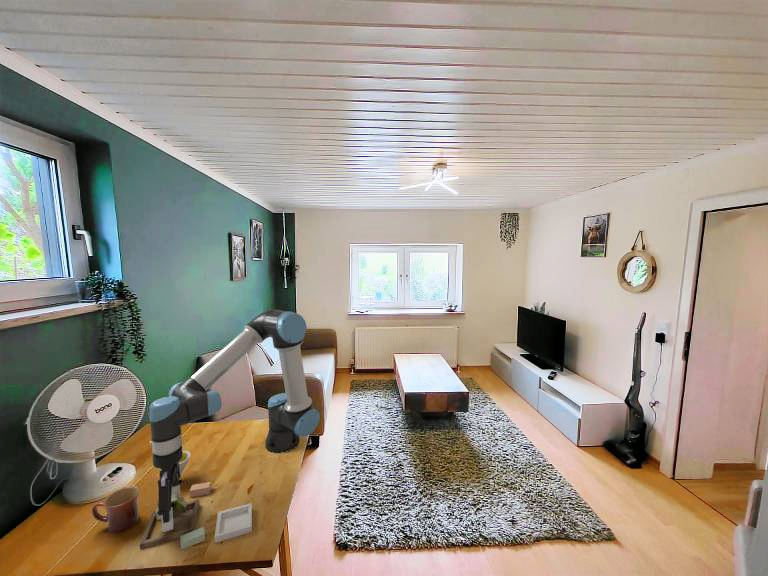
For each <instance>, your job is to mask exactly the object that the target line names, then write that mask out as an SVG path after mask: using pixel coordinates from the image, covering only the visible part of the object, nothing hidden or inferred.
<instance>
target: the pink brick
mask: <svg viewBox="0 0 768 576" xmlns="http://www.w3.org/2000/svg"><path fill="white" fill-rule="evenodd" d="M211 490H212V482H211V481H208V482H207V481H206V482H201V483H195V484H192V485H191V487H190V488H189V497H190V498H194V497H201V496H207V495H210V493H211Z"/></svg>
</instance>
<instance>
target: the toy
mask: <svg viewBox="0 0 768 576" xmlns="http://www.w3.org/2000/svg"><path fill="white" fill-rule="evenodd" d="M182 452H183V456H182V459H181V460H180V461H179V467H180V474H181V475H182V473H183V472H184V470H185V467H186V466H187V464H188V461H189V459H190V458H191V452H190V451H188V450H182Z"/></svg>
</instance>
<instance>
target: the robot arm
mask: <svg viewBox="0 0 768 576" xmlns="http://www.w3.org/2000/svg"><path fill="white" fill-rule="evenodd" d="M307 327H308V326H307V323H306V320H305V318H304V317H303V316H302V315H301V314H299V313H297V312H294V311H287V310H280V309H278V308H277V309H275V308H273V309H271V308H270V309H268V310H266V311H263V312H261V313H259V314H258V315H257V316H255V317H254V318H253V319H251V320H250V321H249V322H248V323H247V324H245V325H244V327H243V328H244V329H243V330H242V331H241V332H240V333H238V335H237V336H235V338H233V339H232V340H231V341H230V342H229V343H228V344H226V346H224V347H223V348H222V349H221V350H219V351H218V352H217V353H216V354H214V356H213V357H212V358H211V359H210V360H208V361H207V362H206V363H205V364H204V365H203V366H202V367H200V368H199V369H198V370H197V371H196V372H195V373H193V375H191V376H190V377H189V378H188V379H187V380H185V381H180V382H177V383H174V385H172V386H171V388H170V389H169V392H168V396H164V397H160V398H158V399H156V400H154V401H153V402H152V403H151V404H150V405H149V418H148V419H149V424H150V436H151V441H149V445H151V450H152V465H153V467H155V468H157V469H160V470H159V479H158V480H157V487H158V495H157V496H158V500H157V502H158V503H157V506H158V512H157V514H158V515H159V516H160V515H161V521H162V522H161V533H164V532H168V531H172V530H173V529H174V525H173V510H172V507H171V498H172V492H173V493H175V494H177V495H178V496H180V497H181V485H180V484H182V483H183V479H182V478H181V477H182V474H180V467H179V461H180V460H181V459H182V456H183V452H182V451H183V446H182V445H183V437H182V426H185V425H188V424H191V423H193V422H195V421H198V420H202V419H204V418H207V417H210V416H211V415H214V414H217V413H219V412H220V411H221V409H222V406H223V404H222V397H221V395H220V393H219V392H218V391H217V390H210V391H208V390H209V389H210V388H211V387H212V386H213V385H215V383H217V381H219V380H220V378H222V377H223V376H224V375H225V374H226V373H227V372H228V371H229V370H231V369H232V368H233V367H234V366H235V365H236V364H237V363H238V362H239V361H240V360H241V359H242V358H244V356H245V355H247V354H248V353H249V351H251V350H252V349H253V348H254V347H255V346H256V345H257V344H262V343H263V342H264V341H265V340H267V339H268V338H272V345H273V348H274V349H275V350H277V351H278V355H279V356H278V357H279V360H280V367H281V373H282V378H283V384H284V390H285V392H282V393H278V394H275V395H272V396H271V397H270V398H269V400H268V402H267V412H268V432H267V435H266V439H265V442H264V443H265V445H264V447H265V450H266V449H267V450H268V451H267V450H266V451H267V452H270V453H272V452H273V453H272V454H282V453H281V452H285V453H287V452H286V451H288V452H290V451H289V450H291V449H293V450H294V449H296V448H297V447H298V446H299V445H298V444H300V442H301V441H300V439H301V438H300V437H302V438H303V437H304V438H305V437H308V436H310V435H311V434H313V432H314V431H315V430H316V429H317V427H318V425H319V422H320V419H321V417H320V416H321V415H320V412H319V411H318V409H316V408H314V405H313V400H312V398H311V397H310V396H308V389H307V383H306V382H307V381H306V377H305V370H304V364H303V358H302V351H301V350H302V349H301V345H302V344H303V342H304V338H305V336H306V335H305V334H307ZM295 447H296V448H295ZM291 451H292V450H291Z"/></svg>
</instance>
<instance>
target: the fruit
mask: <svg viewBox="0 0 768 576" xmlns="http://www.w3.org/2000/svg"><path fill="white" fill-rule="evenodd" d="M187 502H188V501H186V500H185V499H184V494H183V495H180V496H178V495H177V494H175V493H173V492H172V498H171V507H172V510H173V519H174V518H176V517H177V516H178V515H180V514H181V513H188V512H189V510H187V509H186V506H187ZM157 504H158V501H157ZM155 510H156V511H155ZM155 510H154V511H155V514H154V517H155V518H156V519H157V520H158V521H157V520H156V521H157V522H160V523H162V521H161V515H160V516H159V515H158V514H157V512H158V505H157V507H156V509H155Z"/></svg>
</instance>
